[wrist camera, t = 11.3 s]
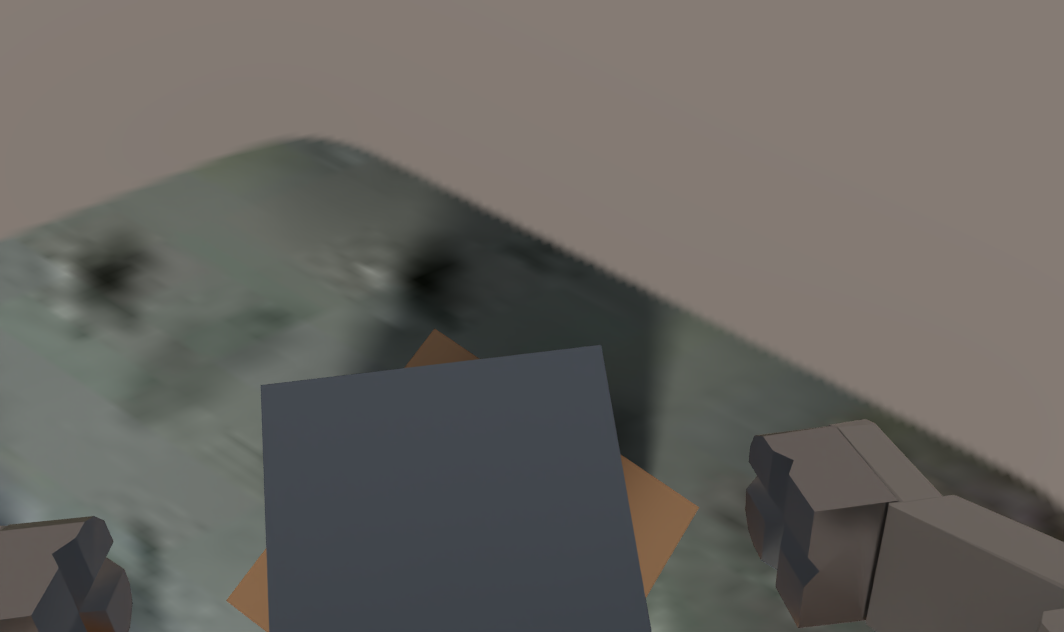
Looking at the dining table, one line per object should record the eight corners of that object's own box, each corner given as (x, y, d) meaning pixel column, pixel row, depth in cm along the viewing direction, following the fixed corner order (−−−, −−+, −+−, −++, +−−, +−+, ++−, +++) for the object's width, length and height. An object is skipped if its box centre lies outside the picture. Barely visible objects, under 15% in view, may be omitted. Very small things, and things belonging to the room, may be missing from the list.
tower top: (272, 596, 19) (226, 600, 16) (443, 367, 21) (434, 328, 18) (509, 777, 18) (513, 822, 15) (664, 519, 20) (699, 507, 17)
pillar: (375, 678, 15) (274, 774, 8) (361, 474, 17) (260, 385, 9) (576, 646, 16) (665, 708, 8) (547, 449, 17) (601, 345, 9)
